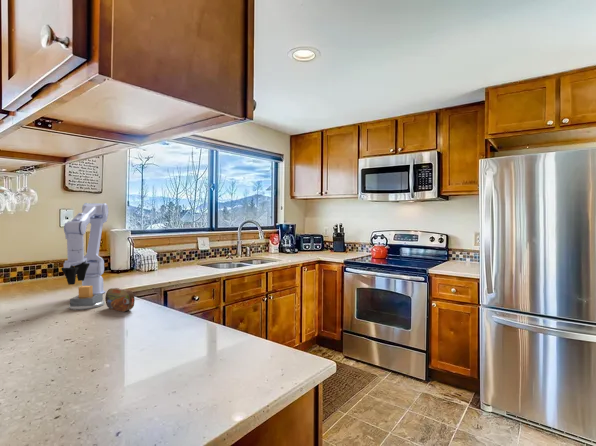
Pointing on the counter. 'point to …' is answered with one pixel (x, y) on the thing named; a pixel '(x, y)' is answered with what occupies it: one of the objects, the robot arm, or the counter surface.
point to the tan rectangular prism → (85, 291)
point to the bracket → (86, 302)
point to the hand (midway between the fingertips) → (76, 282)
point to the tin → (119, 299)
